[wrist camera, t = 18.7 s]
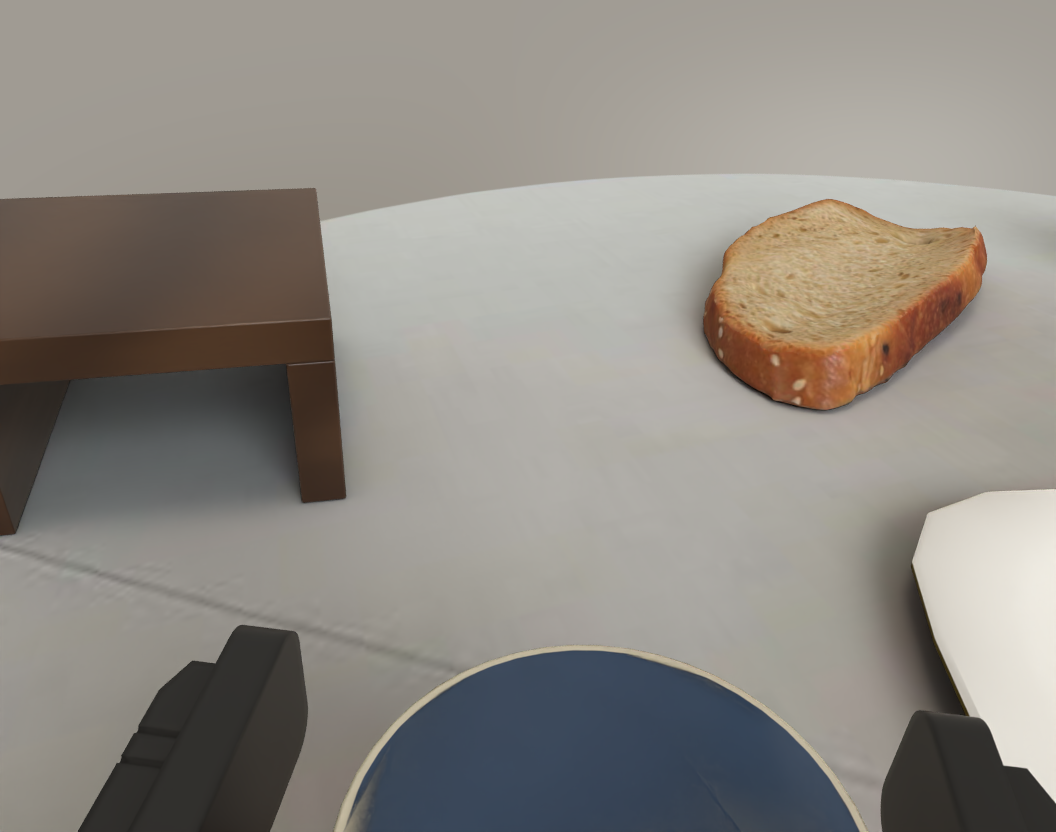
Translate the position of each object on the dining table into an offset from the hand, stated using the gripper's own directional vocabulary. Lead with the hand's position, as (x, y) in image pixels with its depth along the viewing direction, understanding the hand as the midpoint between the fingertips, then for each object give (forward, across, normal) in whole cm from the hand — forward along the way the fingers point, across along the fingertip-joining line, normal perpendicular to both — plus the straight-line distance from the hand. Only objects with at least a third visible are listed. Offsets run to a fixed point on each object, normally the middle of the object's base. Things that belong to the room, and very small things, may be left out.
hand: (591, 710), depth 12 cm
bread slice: (+35, -12, +10) cm, 39 cm away
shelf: (+20, +16, +10) cm, 27 cm away
